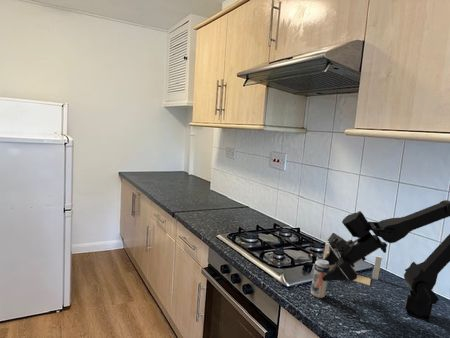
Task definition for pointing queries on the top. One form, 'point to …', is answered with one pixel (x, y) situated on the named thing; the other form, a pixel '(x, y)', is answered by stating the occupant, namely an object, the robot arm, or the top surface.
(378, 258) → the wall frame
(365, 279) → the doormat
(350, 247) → the robot arm
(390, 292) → the top surface
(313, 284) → the beer can
